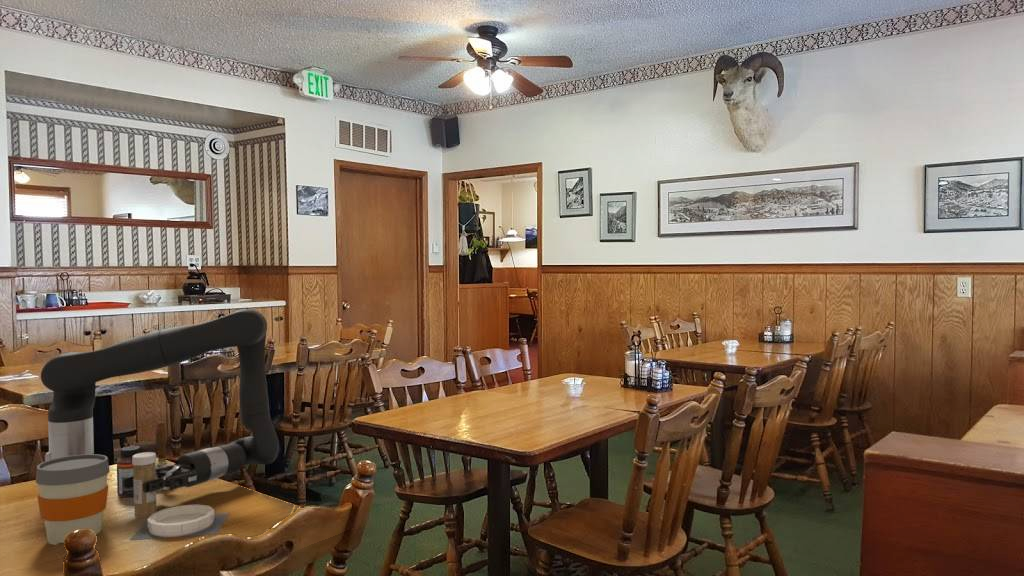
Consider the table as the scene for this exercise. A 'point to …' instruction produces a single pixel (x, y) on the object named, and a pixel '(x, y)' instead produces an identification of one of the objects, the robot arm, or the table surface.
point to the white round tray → (180, 520)
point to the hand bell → (161, 446)
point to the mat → (213, 529)
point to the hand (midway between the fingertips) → (134, 485)
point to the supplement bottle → (126, 470)
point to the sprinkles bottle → (143, 473)
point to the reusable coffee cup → (72, 494)
